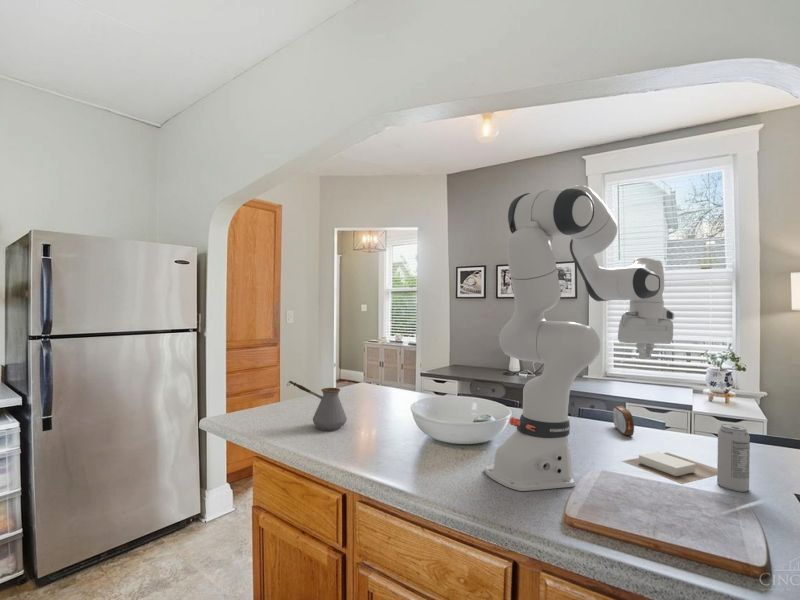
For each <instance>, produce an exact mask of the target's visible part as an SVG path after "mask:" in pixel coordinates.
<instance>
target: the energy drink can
mask: <svg viewBox="0 0 800 600" xmlns="http://www.w3.org/2000/svg"><path fill="white" fill-rule="evenodd" d="M750 439H751V436H750V435H749V432H748V431H747V428H746V427H745V426H741V425H735V424H731V423H730V424H727V423H722V424H720V428H719V429H718V430H717V461H716V462H717V466H716V467H717V475H716V479H717V480H716V481H717V484H718V485H719V486H720V487H722V488H724V489H726V490H729V491H734V492H739V493H746V492H748V491H749V490H750V456H751V454H750V450H751V449H750V446H751V445H750V444H751V443H750V441H751V440H750Z"/></svg>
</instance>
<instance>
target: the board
mask: <svg viewBox="0 0 800 600" xmlns="http://www.w3.org/2000/svg"><path fill="white" fill-rule="evenodd" d="M662 453H663V454H666V455H669V456H672V457H675V458H679V459H682V460H685V461H688V462H691V463H694V464H695V472H693V473H689V474H684V475H680V476H673V475H670V474H667V473H665V472H662V471H659V470H657V469H654V468H651V467H648V466H646V465H643V464H641V463H639V457H636V458H630V459H626V460H621V462H623V463H625V464H628V465H631V466H633V467H636V468H638V469H641V470H644V471H646V472H649V473H652V474H654V475H657V476H660V477H662V478H665V479H668V480H669V481H673V482H676V483H679V484H681V485H684V484H687V483H690V482H696V481H700V480H702V479H708V478H711V477H714V476H717V468H716V467H713V466H710V465H707V464H704V463H701V462H697V461H694V460H692V459H688V458H685V457H682V456H679V455H676V454H674V453H670V452H662Z"/></svg>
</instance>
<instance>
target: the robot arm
mask: <svg viewBox="0 0 800 600" xmlns="http://www.w3.org/2000/svg"><path fill="white" fill-rule="evenodd" d="M507 222H508V227H509V230H510V233H511V234H510V235H509V237H508V239H507V247H506V248H507V263H508V270H509V275H510V281H511V286H512V291H513V292H512V293H513V298H514V301H513V302H514V309H513V312H512V313H513V314H512V316H511V318H510V320H508V322H507V323H505V324H504V326H503V327H502V328H501V330H500V333H499V338H498V340H499V346H500V348H501V350H502V352H503V354H505V355H506V356H508V357H511V358H513V359H516V360H520V361H523V362H534V363H539V364H540V363H541V364H543V365H544V366H543V370H542V373H541V374H540V375H537V376H535V377H532V378H531V379H529V380H528V381H526V383H525V384H524V385H523V386H524V387H523V389H522V394H523V395H522V413H521V415H520V417H519V418H516V417H514V416H512V417H510V418H509V425H511V426H513V427H515V428H516V430H515V431H514V432H513V433H512V434H511V435H509V437H508V438H507V439H505V440H504V442H503V443H501V444H500V445H499V446H498V447H497V448H496V452H495V454H494V463H491V464H489V465H486V466H485V467H484V473H485V474H486V476H488V477H489V478H490V479H492V480H494V481H495V482H497V483H498V484H500V485H502V486H505V487H506V488H509V489H512V490H516V491H519V492H528V491H540V490H551V489H560V488H572V487H575V485H576V483H575V479H574V477H575V476H574V473H573V468H572V467H573V466H572V456H571V448H570V444H569V443H570V442H569V435H570V434H571V433H570V430H571V426H570V425H571V423H570V419H569V404H570V403H569V402H570V393H571V388H572V386H573V383H574V382H575V379H576V378H577V376H578V375H579V373H580V372H582V371H583V369H586V368H587V367H589V366H590V365H592V364H593V363H594V362H595V361H596V359H597V358H598V356H599V354H600V351H601V340H600V336H599V334H598V333H597V331H596V329H594V327H592V326H590V325H587V324H582V323H578V322H574V321H558V320H557V321H556V320H546V318H545V312H548V311H549V310H551V309H553V308H555V307H556V306H557V305H558V303H559V302H560V300H561V296H562V290H561V285H560V280H559V279H560V278H559V273H558V269H557V263H556V258H555V255H554V251H553V248H552V242H553V238H554V236H555V237H556V236H563V235H565V236H570V237H571V239H570V242H569V251H570V254H571V257H572V259H573V261H574V263H575V265H576V268H577V270H578V271H579V273H580V275H581V278H582V280H583V281H584V285H585V289H586V292H587V294H588V295H589V297H590V298H592V299H593V300H594V301H596V302H607V301H608V302H609V301H629V311H625V312H624V313H623V314H622V315H621V319H620V321H619V324H618V331H617V339H618V342H619V343H622V344H623V343H624V344H636V346H635V347H636V349H637V351H638V355H639V356H638V357H639V359H640V360H650V359H652V353H653V351H654V349H655V344H656V345H658V344H659V345H660V344H661V345H670V344H671V343H672V342H673V339H674V322H673V320H675V313H674V312H672V311H671V310H669V309H667V308H666V307H664V306H665V304H664V303H665V302H664V298H663V292H664V290H665V273H664V267H663V263H662V261H661V260H659V259H657V258H654V257H640V258H635V259H634V260H633V262H632V265H629V266H625V267H614V268H612V267H611V268H606V267H602V266H600V265H599V263H598V261H597V259H596V257H595V255H596V254H600V253H601V252H603V251H605V250H606V249H608V247H610V246H611V244H612V243H613V242H614V240H615V239H616V237H617V233H618V225H617V221H616V219H615V217H614V215H613V213H612V212H611V210H610V209H609V208H608V206H607V205H606V204H605V202H604V201H603V199H601V197H600V196H599V195H598V194H597V193H596V192H595V191H593V190H592V189H591V188H590V187H589V186H587V185H583V184H577V185H573V186H570V187H568V188H566V189H552V190H551V189H544V190H538V191H534V192H528V193H524V194H521V195H519V196H517V197H515V198H514V199H513V200H512V201H511V202H510V205H509V208H508V212H507Z"/></svg>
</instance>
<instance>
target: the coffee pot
mask: <svg viewBox="0 0 800 600" xmlns="http://www.w3.org/2000/svg"><path fill="white" fill-rule="evenodd" d="M290 385H293V386H294V387H297V388H298V389H299V390H302V391H304V392H306V393H308V394H311V395H313V396H315V397H317V398H318V399H320V402H319V404H318V406H317V408H316V410H315V412H314V415H313V417H312V423H313V424H314V425H315V426H316V427H317V428H318V429H319V430H322V431H328V432H329V431H338V430H340V429H341V428H342V427H343V426H344V425H346V422H347V420H348V417H347V415H346V412H345V409H344V407H343V404H342V402H341V399H340V398H339V393H340V391H341V388H338V387H324V388H323V387H322V388H321V389H320V391H321V392H322V395H320V394H318V393H316V392H314V391H312V390H310V389H308V388H307V387H305V386H303V385H301V384H298V383H297V382H294V381H292V380H289V381H288V382H287V384H286V386H287V387H289V386H290Z"/></svg>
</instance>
